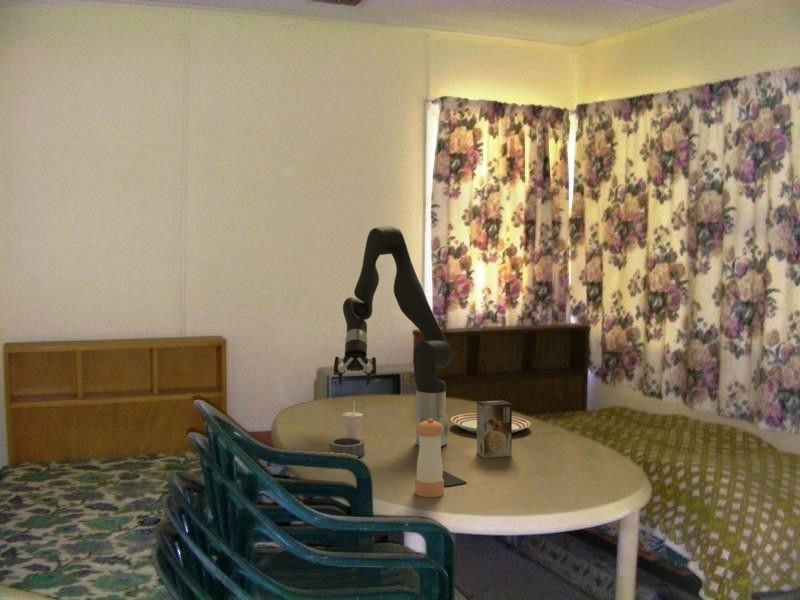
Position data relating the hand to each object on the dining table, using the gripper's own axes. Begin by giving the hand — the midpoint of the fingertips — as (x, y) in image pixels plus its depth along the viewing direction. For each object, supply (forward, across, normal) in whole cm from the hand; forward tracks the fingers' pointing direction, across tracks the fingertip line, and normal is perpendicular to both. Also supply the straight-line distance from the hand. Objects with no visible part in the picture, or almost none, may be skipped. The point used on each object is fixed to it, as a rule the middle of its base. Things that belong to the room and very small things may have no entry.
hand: (354, 384), depth 257 cm
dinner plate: (+4, +47, +20) cm, 51 cm away
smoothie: (+20, 0, +4) cm, 21 cm away
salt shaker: (+54, +22, -30) cm, 66 cm away
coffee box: (+28, +43, -4) cm, 52 cm away
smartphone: (+46, +26, -21) cm, 57 cm away
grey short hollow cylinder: (+29, -1, -5) cm, 29 cm away
